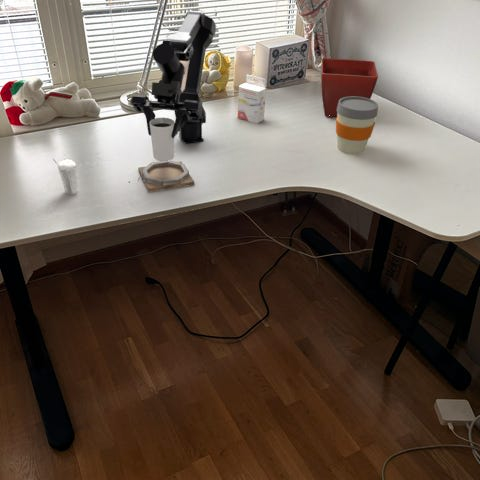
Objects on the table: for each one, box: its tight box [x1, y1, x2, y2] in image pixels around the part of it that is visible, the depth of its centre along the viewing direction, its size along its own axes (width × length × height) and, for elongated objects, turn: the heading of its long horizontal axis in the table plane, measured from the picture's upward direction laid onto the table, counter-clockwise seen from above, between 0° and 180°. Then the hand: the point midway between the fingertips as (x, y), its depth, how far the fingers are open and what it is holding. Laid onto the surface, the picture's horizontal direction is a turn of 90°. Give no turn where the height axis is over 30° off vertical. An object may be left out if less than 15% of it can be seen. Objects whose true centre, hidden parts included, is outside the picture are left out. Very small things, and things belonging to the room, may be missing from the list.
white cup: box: [149, 117, 175, 162], centre depth 142 cm, size 7×7×10 cm
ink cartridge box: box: [237, 74, 267, 124], centre depth 182 cm, size 9×5×15 cm, turn 58°
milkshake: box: [52, 158, 78, 196], centre depth 138 cm, size 4×5×10 cm
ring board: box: [137, 159, 195, 193], centre depth 148 cm, size 13×13×2 cm
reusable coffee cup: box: [335, 96, 379, 155], centre depth 164 cm, size 13×13×15 cm
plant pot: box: [320, 57, 379, 119], centre depth 189 cm, size 19×19×17 cm
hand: (161, 136), depth 140 cm, fingers closed on white cup, 6 cm apart
